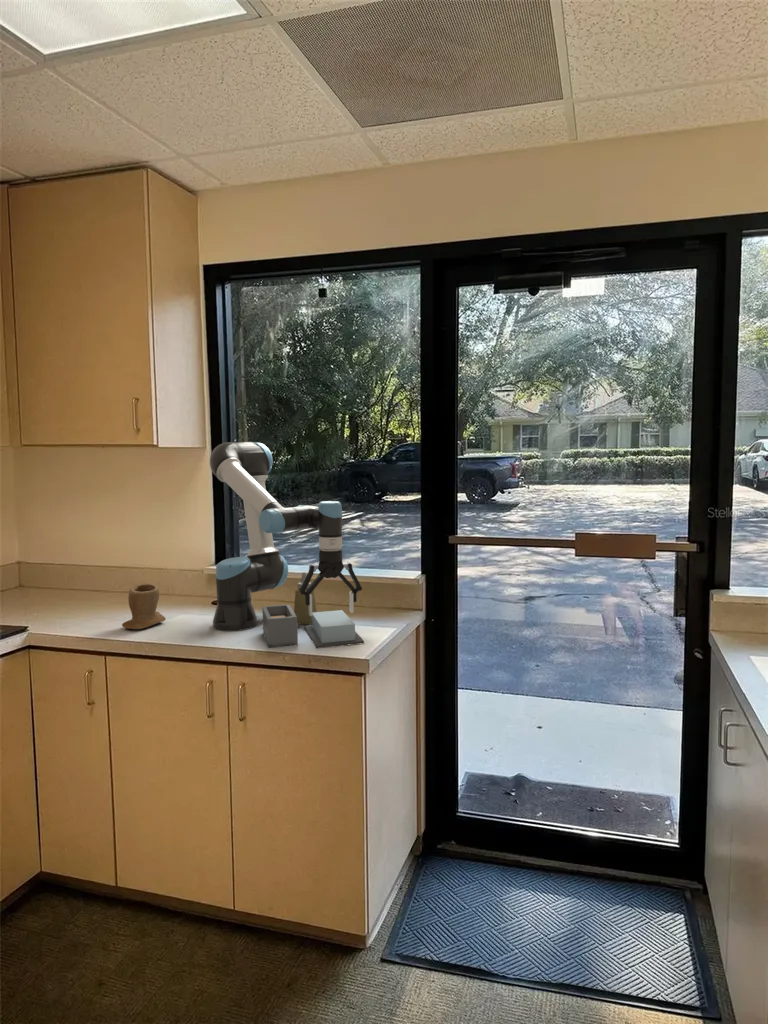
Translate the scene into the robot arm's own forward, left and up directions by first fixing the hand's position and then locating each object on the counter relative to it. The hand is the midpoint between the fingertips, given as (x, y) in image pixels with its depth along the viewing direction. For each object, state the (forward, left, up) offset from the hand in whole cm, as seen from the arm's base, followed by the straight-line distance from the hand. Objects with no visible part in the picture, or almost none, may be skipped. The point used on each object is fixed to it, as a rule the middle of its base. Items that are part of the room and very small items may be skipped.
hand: (331, 613), depth 212 cm
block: (0, 0, -7) cm, 7 cm away
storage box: (-2, -17, -7) cm, 18 cm away
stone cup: (-34, -60, -8) cm, 69 cm away
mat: (0, 0, -7) cm, 7 cm away
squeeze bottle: (-19, -6, -8) cm, 21 cm away
